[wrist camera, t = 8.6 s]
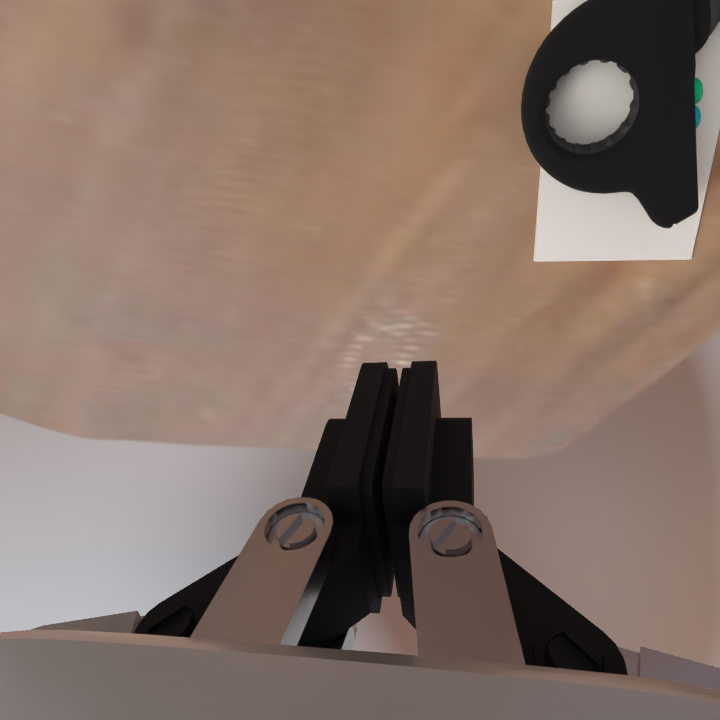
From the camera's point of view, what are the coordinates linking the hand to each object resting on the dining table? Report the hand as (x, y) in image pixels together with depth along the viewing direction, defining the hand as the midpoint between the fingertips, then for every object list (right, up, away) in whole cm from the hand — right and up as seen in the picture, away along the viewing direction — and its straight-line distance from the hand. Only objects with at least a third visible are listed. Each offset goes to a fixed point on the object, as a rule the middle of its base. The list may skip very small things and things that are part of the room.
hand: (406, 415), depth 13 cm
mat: (+14, +14, +18) cm, 27 cm away
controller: (+8, +13, +18) cm, 23 cm away
